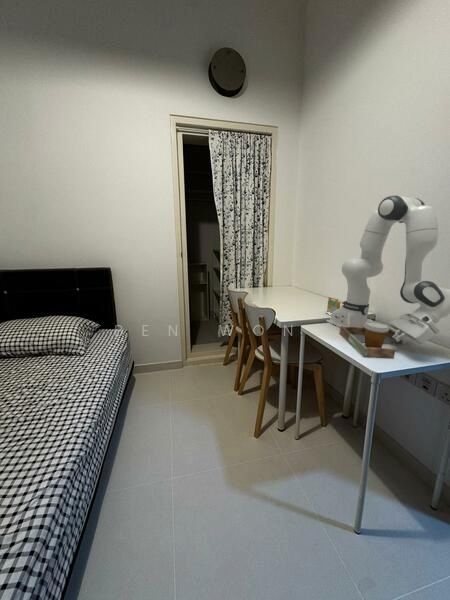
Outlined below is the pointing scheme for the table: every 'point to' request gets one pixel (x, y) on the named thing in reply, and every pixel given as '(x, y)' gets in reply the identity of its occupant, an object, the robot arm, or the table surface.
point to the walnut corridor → (361, 348)
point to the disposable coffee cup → (375, 334)
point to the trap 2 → (389, 341)
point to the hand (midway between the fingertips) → (394, 339)
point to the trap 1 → (360, 337)
